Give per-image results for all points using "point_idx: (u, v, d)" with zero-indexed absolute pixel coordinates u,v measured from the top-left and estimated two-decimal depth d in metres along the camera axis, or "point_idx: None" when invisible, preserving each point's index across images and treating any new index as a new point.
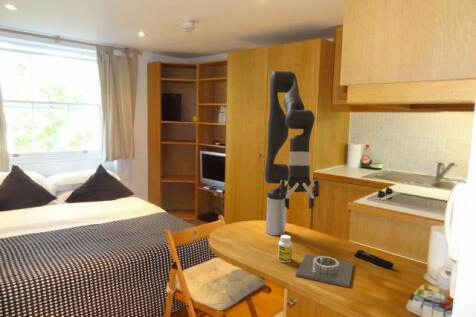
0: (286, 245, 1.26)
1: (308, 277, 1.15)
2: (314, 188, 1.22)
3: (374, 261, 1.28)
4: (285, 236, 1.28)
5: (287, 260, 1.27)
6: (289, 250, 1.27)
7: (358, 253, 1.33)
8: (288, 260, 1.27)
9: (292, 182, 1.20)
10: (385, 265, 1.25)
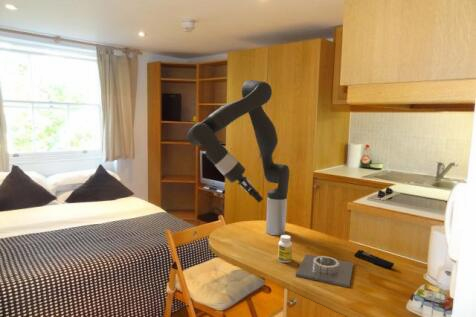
0: (286, 245, 1.26)
1: (308, 277, 1.15)
2: None
3: (374, 261, 1.28)
4: (285, 236, 1.28)
5: (287, 260, 1.27)
6: (289, 250, 1.27)
7: (358, 253, 1.33)
8: (288, 260, 1.27)
9: None
10: (385, 265, 1.25)
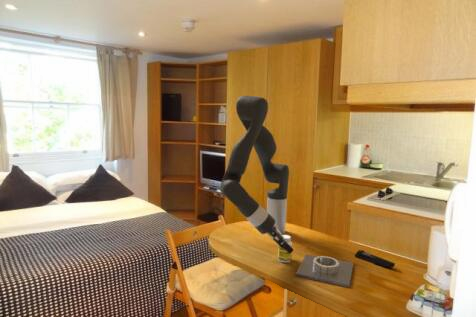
0: None
1: (308, 277, 1.15)
2: None
3: (375, 261, 1.28)
4: (285, 236, 1.28)
5: (287, 260, 1.27)
6: None
7: (358, 253, 1.33)
8: (288, 260, 1.27)
9: None
10: (386, 265, 1.25)
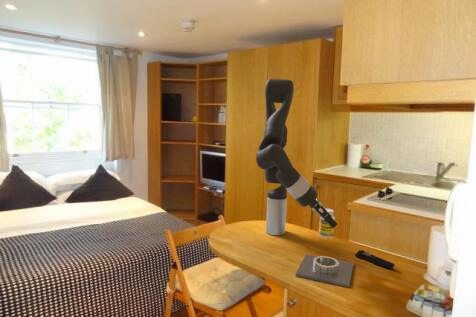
0: None
1: (308, 277, 1.15)
2: None
3: (375, 262, 1.27)
4: (327, 209, 1.19)
5: (330, 235, 1.17)
6: None
7: (359, 253, 1.33)
8: (331, 235, 1.17)
9: None
10: (386, 265, 1.24)
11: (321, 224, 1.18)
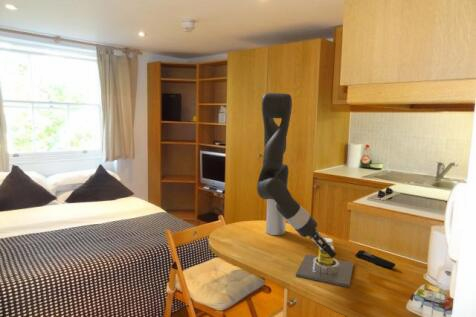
0: None
1: (308, 277, 1.15)
2: None
3: (375, 262, 1.27)
4: (326, 239, 1.20)
5: (329, 265, 1.19)
6: None
7: (359, 253, 1.33)
8: (330, 265, 1.19)
9: None
10: (386, 265, 1.24)
11: (320, 254, 1.20)
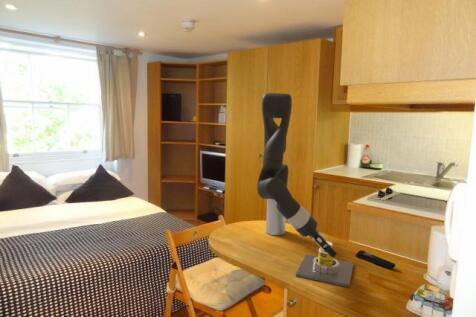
0: None
1: (308, 277, 1.15)
2: None
3: (376, 262, 1.27)
4: None
5: None
6: (331, 257, 1.19)
7: (359, 253, 1.33)
8: None
9: None
10: (387, 265, 1.24)
11: (320, 257, 1.20)
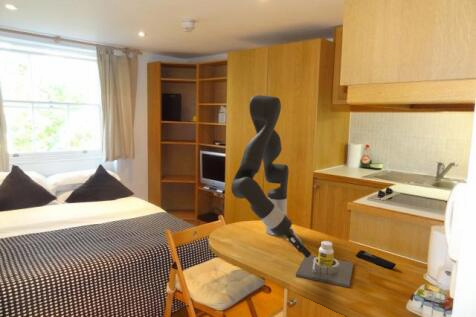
0: (328, 252, 1.18)
1: (308, 277, 1.15)
2: None
3: (376, 262, 1.27)
4: (326, 242, 1.20)
5: None
6: (331, 257, 1.19)
7: (360, 253, 1.33)
8: None
9: None
10: (387, 265, 1.24)
11: (320, 257, 1.20)
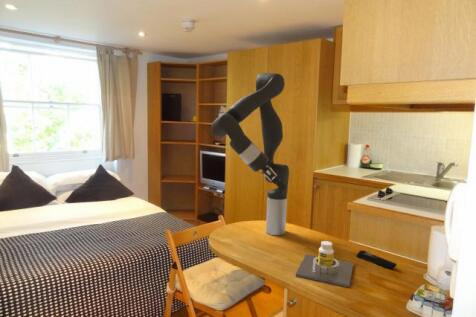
0: (328, 252, 1.18)
1: (308, 277, 1.15)
2: None
3: (377, 262, 1.27)
4: (326, 242, 1.20)
5: None
6: (331, 257, 1.19)
7: (360, 253, 1.33)
8: None
9: None
10: (388, 265, 1.24)
11: (320, 257, 1.20)
